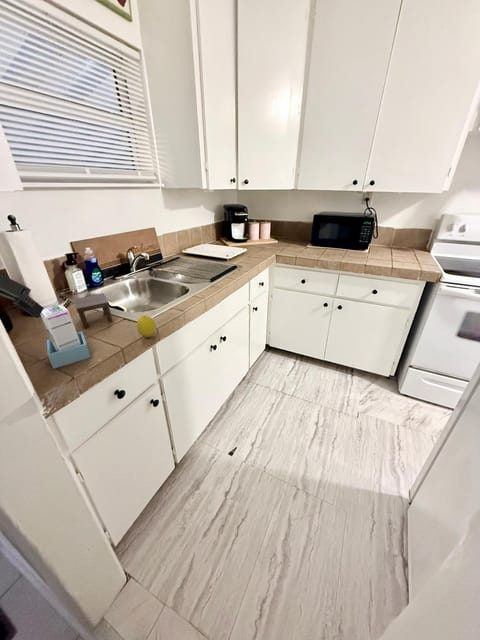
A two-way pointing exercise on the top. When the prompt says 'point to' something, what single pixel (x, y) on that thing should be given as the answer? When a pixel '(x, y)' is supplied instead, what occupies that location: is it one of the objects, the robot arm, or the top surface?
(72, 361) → the bin
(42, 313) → the syrup box
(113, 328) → the top surface
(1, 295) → the robot arm
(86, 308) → the stool
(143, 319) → the lemon
